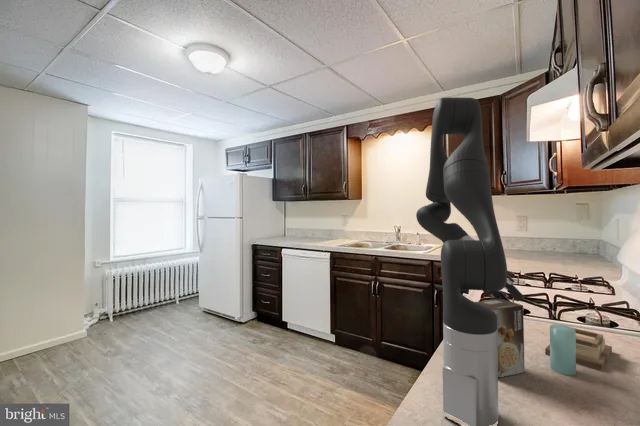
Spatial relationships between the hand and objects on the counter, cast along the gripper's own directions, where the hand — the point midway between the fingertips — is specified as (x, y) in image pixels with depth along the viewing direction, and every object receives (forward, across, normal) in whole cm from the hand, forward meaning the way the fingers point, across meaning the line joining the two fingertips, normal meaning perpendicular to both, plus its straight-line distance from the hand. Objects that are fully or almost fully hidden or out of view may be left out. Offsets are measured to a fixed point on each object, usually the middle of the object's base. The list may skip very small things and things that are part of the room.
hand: (515, 302), depth 80 cm
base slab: (+17, +13, +2) cm, 22 cm away
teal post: (+17, 0, +3) cm, 17 cm away
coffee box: (+10, -11, +10) cm, 18 cm away
